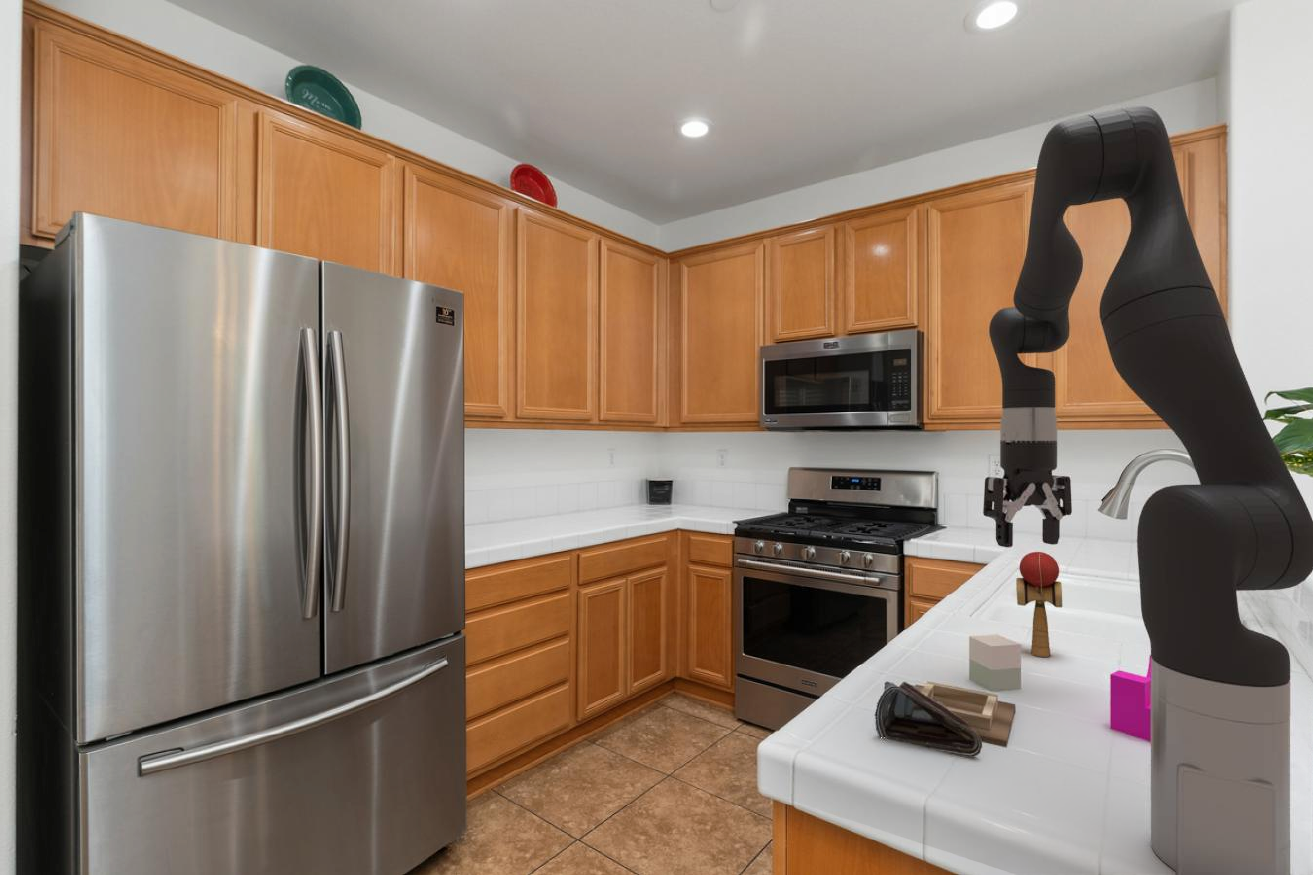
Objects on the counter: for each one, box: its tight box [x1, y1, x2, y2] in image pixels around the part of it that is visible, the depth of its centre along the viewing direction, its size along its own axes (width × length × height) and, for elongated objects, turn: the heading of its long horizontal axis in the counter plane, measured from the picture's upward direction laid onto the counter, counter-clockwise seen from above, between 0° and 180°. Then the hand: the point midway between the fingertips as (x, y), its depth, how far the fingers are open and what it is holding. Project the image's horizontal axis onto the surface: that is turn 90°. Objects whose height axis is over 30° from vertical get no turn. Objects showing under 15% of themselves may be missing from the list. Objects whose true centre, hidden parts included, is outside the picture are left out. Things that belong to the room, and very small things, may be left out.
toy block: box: [1109, 654, 1151, 743], centre depth 86 cm, size 15×6×8 cm, turn 125°
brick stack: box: [968, 633, 1022, 692], centre depth 99 cm, size 5×5×7 cm
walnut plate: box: [914, 681, 1016, 748], centre depth 87 cm, size 13×13×3 cm
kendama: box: [1015, 551, 1063, 658], centre depth 113 cm, size 8×6×18 cm
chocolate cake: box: [874, 681, 983, 758], centre depth 81 cm, size 10×7×12 cm
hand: (1027, 545), depth 98 cm, fingers open, 8 cm apart
